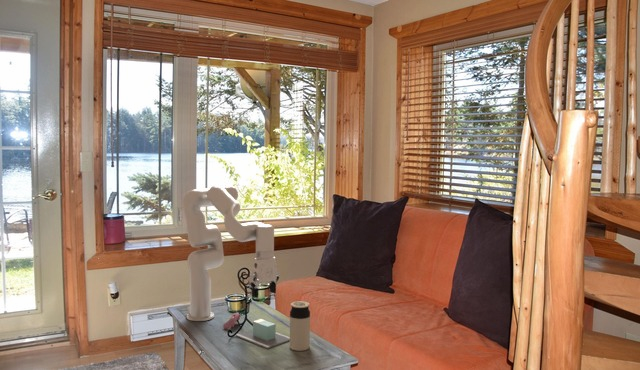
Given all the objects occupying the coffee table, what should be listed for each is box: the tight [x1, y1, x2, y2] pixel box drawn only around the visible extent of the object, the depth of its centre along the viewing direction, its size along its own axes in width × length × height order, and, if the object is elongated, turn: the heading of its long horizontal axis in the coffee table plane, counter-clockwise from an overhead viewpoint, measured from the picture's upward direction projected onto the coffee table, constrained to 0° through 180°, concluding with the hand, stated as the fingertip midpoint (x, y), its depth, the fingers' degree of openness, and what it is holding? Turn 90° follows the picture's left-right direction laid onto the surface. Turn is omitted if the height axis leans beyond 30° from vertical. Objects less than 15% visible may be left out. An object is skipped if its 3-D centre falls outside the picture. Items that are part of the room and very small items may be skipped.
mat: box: [235, 329, 290, 350], centre depth 234 cm, size 20×14×1 cm
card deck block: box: [252, 318, 277, 341], centre depth 233 cm, size 4×9×6 cm, turn 48°
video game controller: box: [222, 312, 242, 330], centre depth 248 cm, size 10×5×7 cm, turn 170°
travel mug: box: [289, 300, 311, 352], centre depth 223 cm, size 8×8×18 cm
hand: (264, 294), depth 233 cm, fingers open, 9 cm apart
